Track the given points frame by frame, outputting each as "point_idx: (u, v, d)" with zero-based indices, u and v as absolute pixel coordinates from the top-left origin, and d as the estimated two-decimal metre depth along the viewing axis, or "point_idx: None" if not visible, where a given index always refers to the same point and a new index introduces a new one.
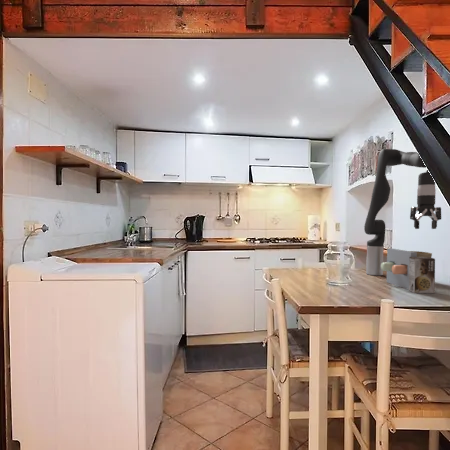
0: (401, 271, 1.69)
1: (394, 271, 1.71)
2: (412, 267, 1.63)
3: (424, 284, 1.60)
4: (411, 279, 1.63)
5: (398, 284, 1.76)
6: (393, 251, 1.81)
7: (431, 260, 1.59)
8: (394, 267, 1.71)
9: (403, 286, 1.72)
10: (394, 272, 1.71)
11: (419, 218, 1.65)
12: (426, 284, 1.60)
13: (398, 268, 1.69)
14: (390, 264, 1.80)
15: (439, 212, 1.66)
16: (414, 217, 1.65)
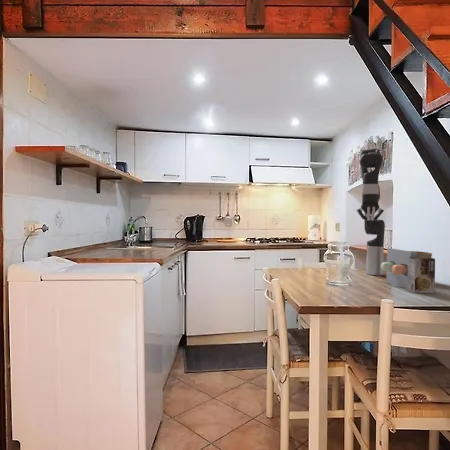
0: (401, 271, 1.69)
1: (394, 271, 1.71)
2: (412, 267, 1.63)
3: (424, 284, 1.60)
4: (411, 279, 1.63)
5: (398, 284, 1.76)
6: (393, 251, 1.81)
7: (431, 260, 1.59)
8: (394, 267, 1.71)
9: (403, 286, 1.72)
10: (394, 272, 1.71)
11: (370, 217, 1.76)
12: (426, 284, 1.60)
13: (398, 268, 1.69)
14: (390, 264, 1.80)
15: None
16: None
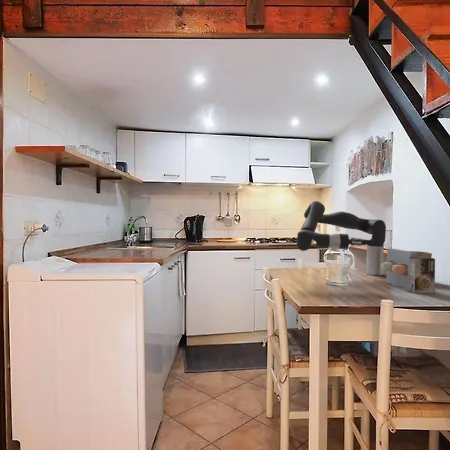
0: (401, 271, 1.69)
1: (394, 271, 1.71)
2: (412, 267, 1.63)
3: (424, 284, 1.60)
4: (411, 279, 1.63)
5: (398, 284, 1.76)
6: (393, 251, 1.81)
7: (431, 260, 1.59)
8: (394, 267, 1.71)
9: (403, 286, 1.72)
10: (394, 272, 1.71)
11: None
12: (426, 284, 1.60)
13: (398, 268, 1.69)
14: (390, 264, 1.80)
15: None
16: (364, 239, 1.70)
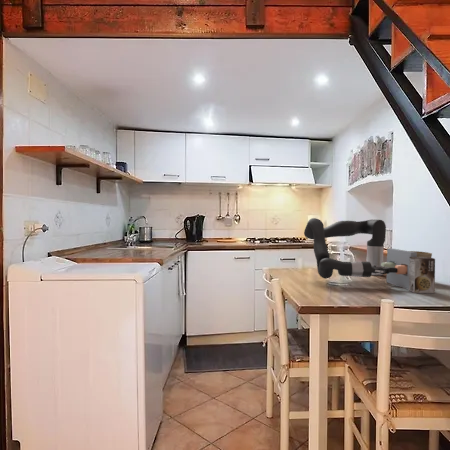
0: (404, 271, 1.69)
1: (397, 271, 1.71)
2: (412, 267, 1.63)
3: (424, 284, 1.60)
4: (411, 279, 1.63)
5: (398, 284, 1.76)
6: (393, 251, 1.81)
7: (431, 260, 1.59)
8: (397, 267, 1.71)
9: (403, 286, 1.72)
10: (397, 272, 1.71)
11: (386, 267, 1.71)
12: (426, 284, 1.60)
13: (401, 268, 1.69)
14: (390, 264, 1.80)
15: None
16: (387, 268, 1.69)
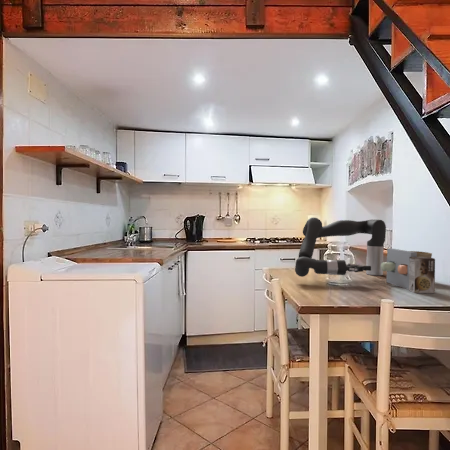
0: None
1: (400, 271, 1.71)
2: (412, 267, 1.63)
3: (423, 284, 1.60)
4: (411, 279, 1.63)
5: (398, 284, 1.76)
6: (393, 251, 1.81)
7: (431, 260, 1.59)
8: (400, 267, 1.71)
9: (403, 286, 1.72)
10: (400, 272, 1.71)
11: (360, 265, 1.75)
12: (426, 284, 1.60)
13: (404, 268, 1.69)
14: (390, 264, 1.80)
15: None
16: (361, 266, 1.73)
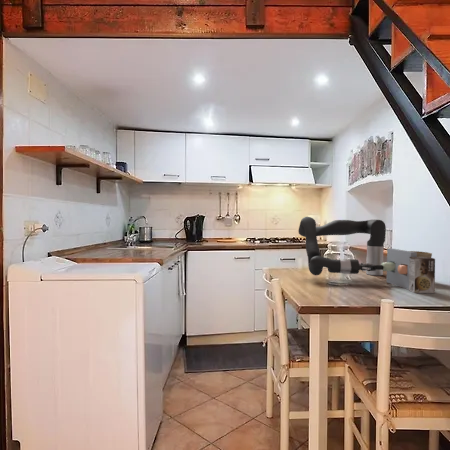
0: None
1: (400, 271, 1.71)
2: (412, 267, 1.63)
3: (424, 284, 1.60)
4: (411, 279, 1.63)
5: (398, 284, 1.76)
6: (393, 251, 1.81)
7: (431, 260, 1.59)
8: (400, 267, 1.71)
9: (403, 286, 1.72)
10: (400, 272, 1.71)
11: (372, 265, 1.81)
12: (426, 284, 1.60)
13: (404, 268, 1.69)
14: (390, 264, 1.80)
15: None
16: (373, 265, 1.79)
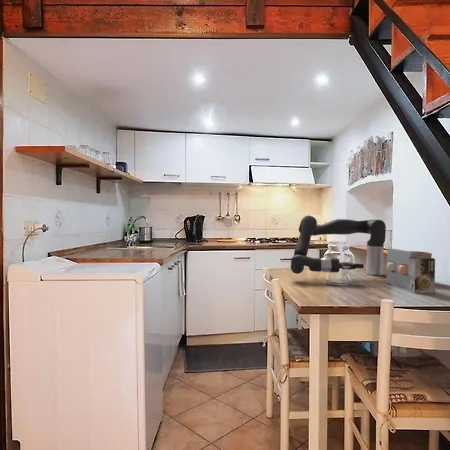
0: None
1: (400, 271, 1.71)
2: (412, 267, 1.63)
3: (424, 284, 1.60)
4: (411, 279, 1.63)
5: (398, 284, 1.76)
6: (393, 251, 1.81)
7: (431, 260, 1.59)
8: (400, 267, 1.71)
9: (403, 286, 1.72)
10: (400, 272, 1.71)
11: (353, 263, 1.82)
12: (426, 284, 1.60)
13: (404, 268, 1.69)
14: None
15: None
16: (354, 264, 1.80)
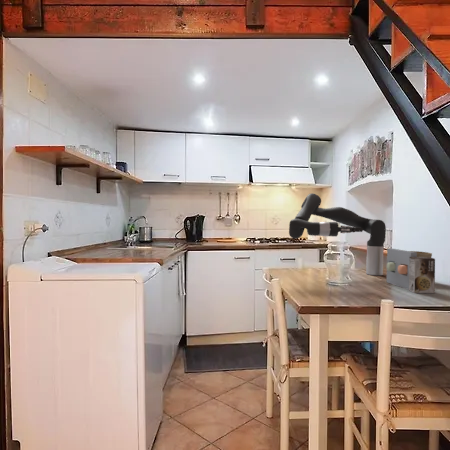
0: None
1: (400, 271, 1.71)
2: (412, 267, 1.63)
3: (424, 284, 1.60)
4: (411, 279, 1.63)
5: (398, 284, 1.76)
6: (393, 251, 1.81)
7: (431, 260, 1.59)
8: (400, 267, 1.71)
9: (403, 286, 1.72)
10: (400, 272, 1.71)
11: None
12: (426, 284, 1.60)
13: (404, 268, 1.69)
14: None
15: None
16: (352, 227, 1.79)
